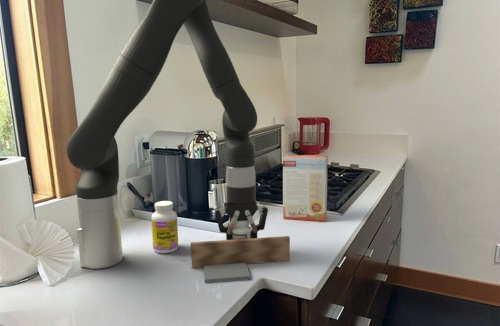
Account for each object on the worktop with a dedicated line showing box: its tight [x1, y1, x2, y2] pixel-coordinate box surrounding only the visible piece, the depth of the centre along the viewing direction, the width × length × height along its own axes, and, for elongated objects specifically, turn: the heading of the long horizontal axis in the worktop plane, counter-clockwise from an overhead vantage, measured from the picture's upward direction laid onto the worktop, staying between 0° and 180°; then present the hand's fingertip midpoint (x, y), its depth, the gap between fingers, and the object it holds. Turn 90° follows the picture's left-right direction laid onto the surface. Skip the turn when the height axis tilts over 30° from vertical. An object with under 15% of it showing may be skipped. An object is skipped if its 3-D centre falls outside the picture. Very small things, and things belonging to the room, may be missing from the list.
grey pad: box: [203, 263, 251, 284], centre depth 87 cm, size 10×7×1 cm
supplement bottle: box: [151, 200, 179, 254], centre depth 100 cm, size 7×7×13 cm
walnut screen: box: [190, 235, 291, 269], centre depth 91 cm, size 24×1×6 cm, turn 98°
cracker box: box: [282, 154, 328, 222], centre depth 124 cm, size 14×6×21 cm, turn 74°
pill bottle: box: [231, 220, 252, 240], centre depth 98 cm, size 5×5×9 cm
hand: (241, 245), depth 99 cm, fingers closed on pill bottle, 5 cm apart
